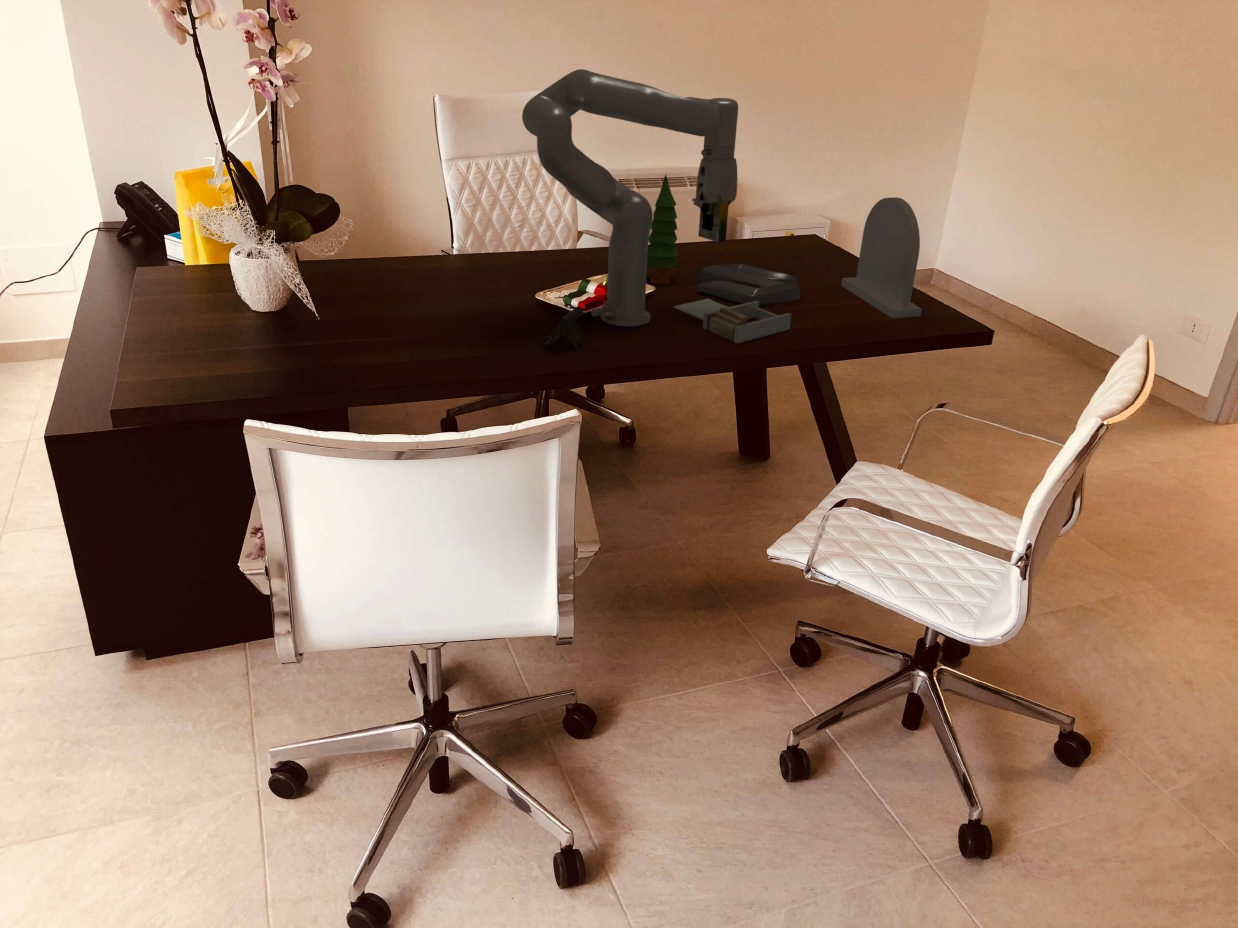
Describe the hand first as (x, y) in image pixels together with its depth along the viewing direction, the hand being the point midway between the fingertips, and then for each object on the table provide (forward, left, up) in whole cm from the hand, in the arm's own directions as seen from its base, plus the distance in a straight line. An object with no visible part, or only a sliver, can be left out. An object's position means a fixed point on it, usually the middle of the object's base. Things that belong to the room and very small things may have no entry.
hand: (712, 228), depth 242 cm
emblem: (+21, +6, -22) cm, 31 cm away
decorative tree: (+6, +26, -22) cm, 34 cm away
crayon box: (0, 0, -3) cm, 3 cm away
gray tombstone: (+47, -19, -22) cm, 55 cm away
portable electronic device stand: (-45, 0, -22) cm, 50 cm away
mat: (0, 0, -22) cm, 22 cm away
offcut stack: (-7, -16, -22) cm, 28 cm away
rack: (-1, -16, -22) cm, 27 cm away
